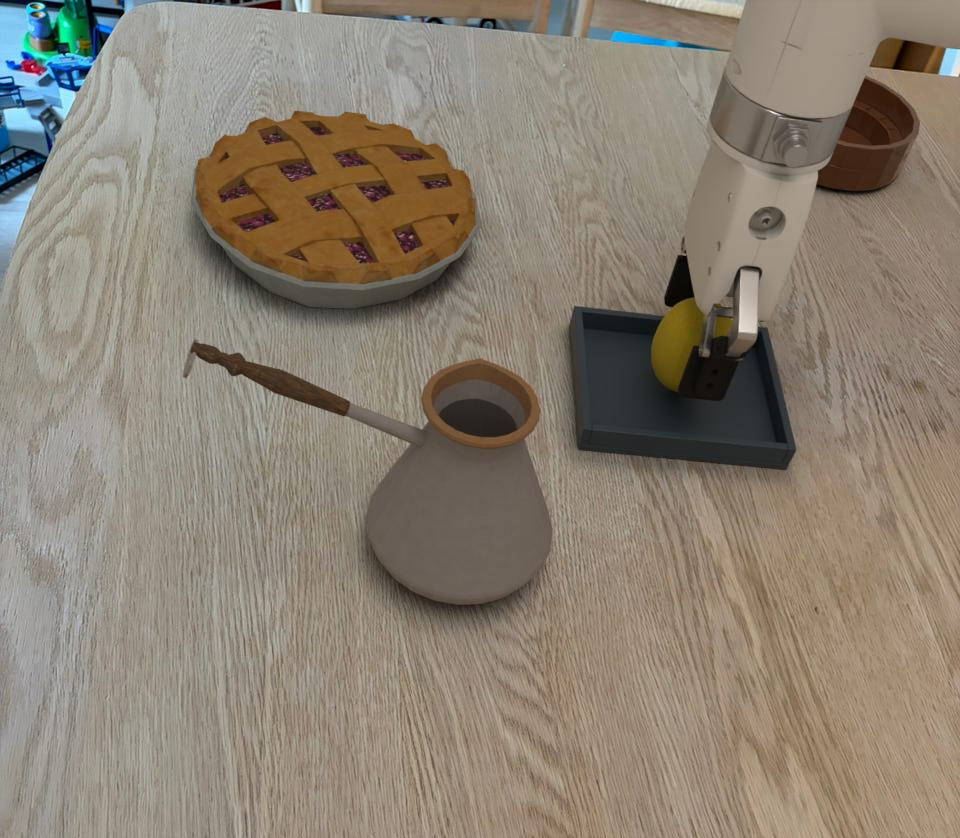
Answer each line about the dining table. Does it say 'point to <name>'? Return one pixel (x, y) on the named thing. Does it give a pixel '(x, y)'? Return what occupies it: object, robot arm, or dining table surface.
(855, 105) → the bowl
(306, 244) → the pie
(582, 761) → the dining table surface
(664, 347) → the lemon
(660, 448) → the tray
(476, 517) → the coffee pot
